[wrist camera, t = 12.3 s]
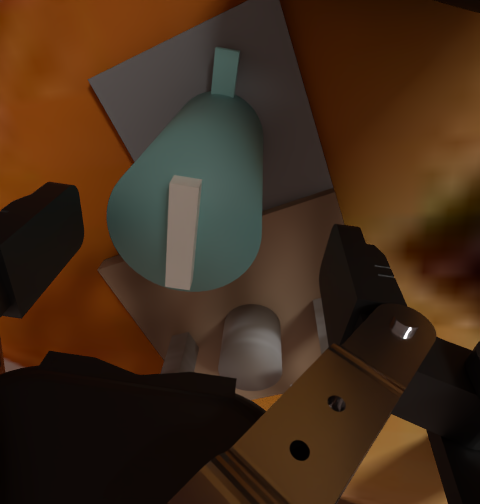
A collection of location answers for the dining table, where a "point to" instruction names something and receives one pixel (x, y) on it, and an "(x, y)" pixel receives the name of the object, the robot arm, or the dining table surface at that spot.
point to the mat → (247, 87)
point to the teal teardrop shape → (195, 192)
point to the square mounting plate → (244, 306)
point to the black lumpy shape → (464, 4)
